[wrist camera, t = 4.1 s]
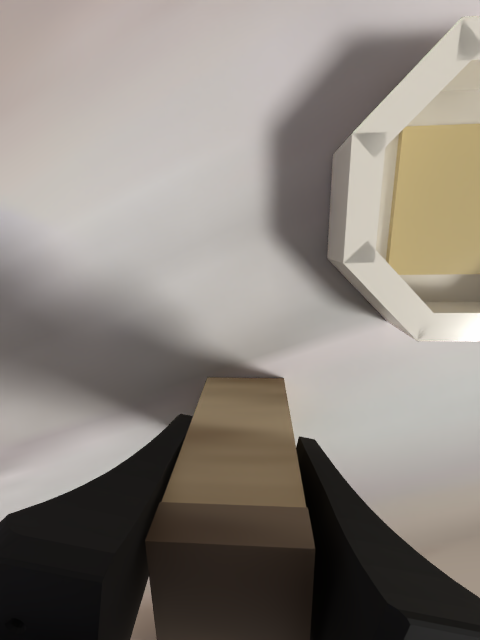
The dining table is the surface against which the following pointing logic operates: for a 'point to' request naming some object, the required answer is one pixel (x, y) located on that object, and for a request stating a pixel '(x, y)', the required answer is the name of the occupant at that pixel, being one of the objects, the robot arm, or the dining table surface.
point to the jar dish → (417, 196)
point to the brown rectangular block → (234, 523)
